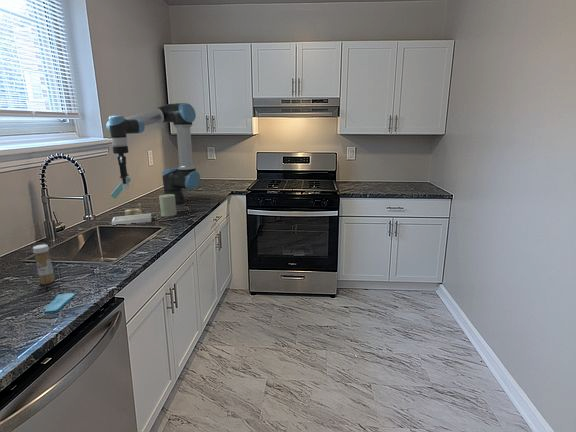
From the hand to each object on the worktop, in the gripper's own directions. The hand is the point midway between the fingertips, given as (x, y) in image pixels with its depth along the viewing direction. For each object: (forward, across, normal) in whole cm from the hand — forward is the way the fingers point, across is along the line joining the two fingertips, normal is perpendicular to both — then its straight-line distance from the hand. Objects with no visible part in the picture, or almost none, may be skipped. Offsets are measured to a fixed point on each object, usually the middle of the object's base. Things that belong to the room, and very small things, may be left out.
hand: (125, 188), depth 203 cm
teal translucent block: (+19, -10, +2) cm, 21 cm away
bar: (0, 0, -1) cm, 1 cm away
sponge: (+20, +95, -17) cm, 98 cm away
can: (+19, -8, +21) cm, 30 cm away
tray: (+19, 0, +1) cm, 19 cm away
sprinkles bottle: (+19, +75, -24) cm, 81 cm away
